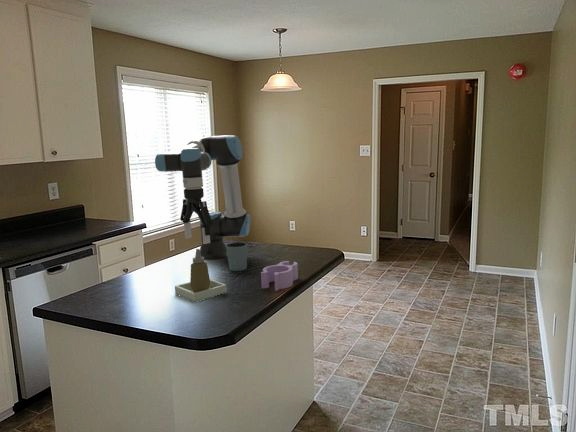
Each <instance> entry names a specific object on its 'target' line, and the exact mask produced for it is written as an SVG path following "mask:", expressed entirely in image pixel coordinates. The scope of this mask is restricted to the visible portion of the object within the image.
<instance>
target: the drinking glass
mask: <svg viewBox="0 0 576 432" xmlns="http://www.w3.org/2000/svg"><path fill="white" fill-rule="evenodd" d="M225 246H226V250H227V256H226V257H227V261H228V268H229V269H228V270H230V271H233V272H238V271H239V272H240V271H245V270H247V268H248V243H247V242H244V241H234V242H229V243H227V244H225Z"/></svg>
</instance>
